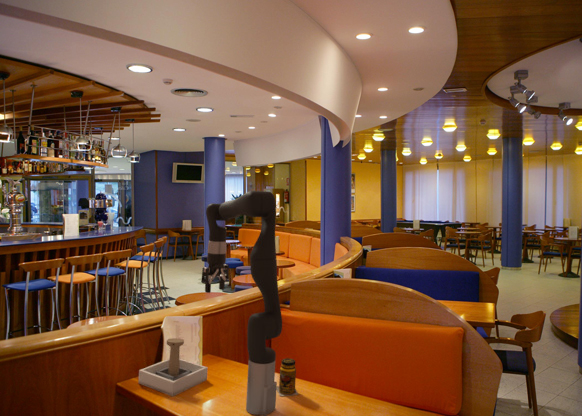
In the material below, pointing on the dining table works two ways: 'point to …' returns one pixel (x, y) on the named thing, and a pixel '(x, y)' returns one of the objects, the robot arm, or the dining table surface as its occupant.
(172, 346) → the handle
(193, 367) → the box
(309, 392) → the dining table surface
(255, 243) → the robot arm
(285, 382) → the condiment
